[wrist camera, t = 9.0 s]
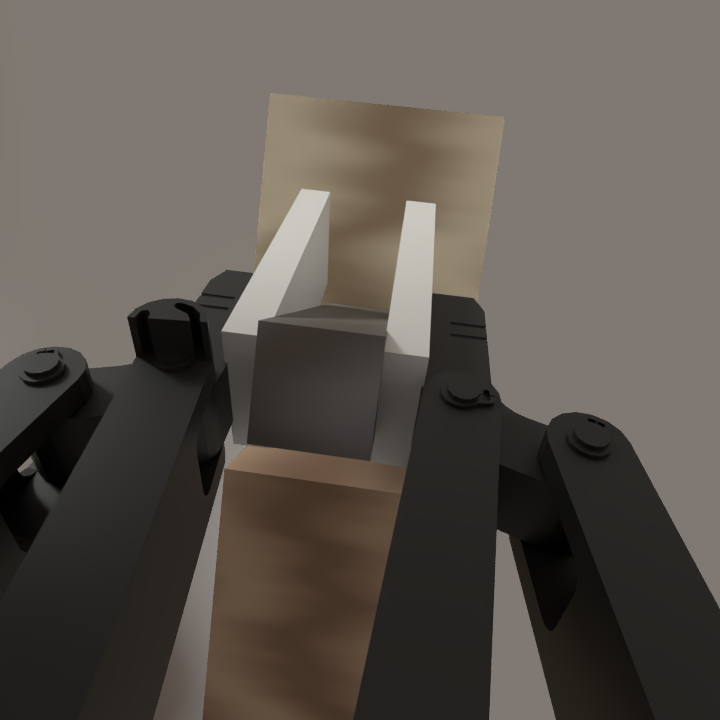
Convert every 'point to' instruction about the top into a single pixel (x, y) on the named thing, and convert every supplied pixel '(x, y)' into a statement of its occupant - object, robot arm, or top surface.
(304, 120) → the beige wooden block
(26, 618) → the robot arm
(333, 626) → the brown wooden tall block
